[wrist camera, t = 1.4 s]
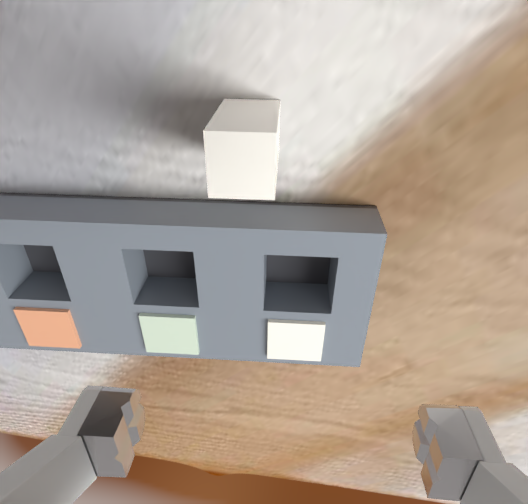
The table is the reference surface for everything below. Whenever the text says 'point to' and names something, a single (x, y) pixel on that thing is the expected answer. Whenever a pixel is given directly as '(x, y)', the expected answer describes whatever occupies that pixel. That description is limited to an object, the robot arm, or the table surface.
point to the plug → (243, 149)
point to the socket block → (188, 277)
